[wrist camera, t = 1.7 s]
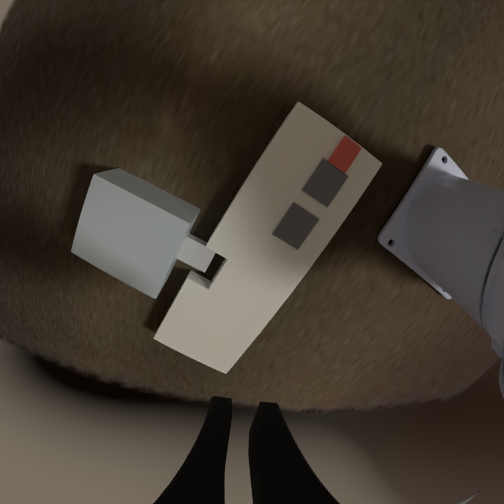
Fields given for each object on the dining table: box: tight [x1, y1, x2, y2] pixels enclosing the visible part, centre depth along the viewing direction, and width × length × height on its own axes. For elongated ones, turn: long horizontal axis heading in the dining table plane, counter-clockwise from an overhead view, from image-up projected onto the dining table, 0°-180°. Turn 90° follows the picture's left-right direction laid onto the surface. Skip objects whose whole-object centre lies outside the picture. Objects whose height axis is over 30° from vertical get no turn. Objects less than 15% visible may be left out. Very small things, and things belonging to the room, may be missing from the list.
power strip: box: [154, 102, 382, 374], centre depth 18 cm, size 6×18×1 cm, turn 148°
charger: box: [71, 168, 216, 299], centre depth 16 cm, size 8×5×4 cm, turn 61°
